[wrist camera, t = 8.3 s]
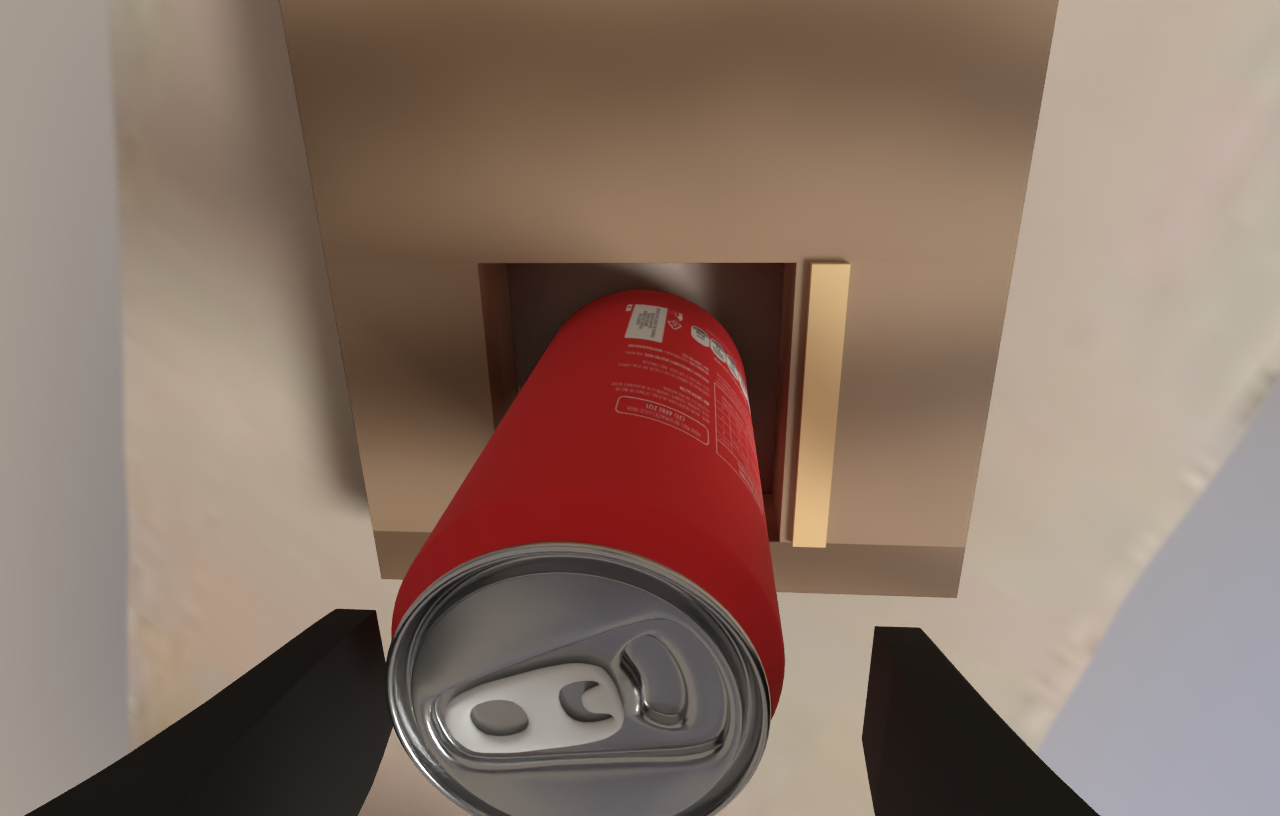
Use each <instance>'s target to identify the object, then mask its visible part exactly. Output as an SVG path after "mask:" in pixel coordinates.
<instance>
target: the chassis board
mask: <svg viewBox="0 0 1280 816" xmlns="http://www.w3.org/2000/svg"><path fill="white" fill-rule="evenodd" d="M279 2H280V7H281V13H282V19H283V24H284V30H285V36H286V41H287V47H288V53H289V58H290V64H291V69H292V75H293V81H294V86H295V92H296V98H297V103H298V109H299V115H300V120H301V126H302V132H303V137H304V143H305V149H306V154H307V160H308V166H309V171H310V177H311V182H312V188H313V194H314V199H315V205H316V211H317V216H318V222H319V228H320V233H321V239H322V245H323V250H324V256H325V262H326V267H327V273H328V279H329V284H330V290H331V295H332V301H333V307H334V312H335V318H336V324H337V329H338V335H339V341H340V346H341V352H342V358H343V363H344V369H345V375H346V380H347V386H348V392H349V397H350V403H351V409H352V414H353V420H354V425H355V431H356V437H357V442H358V448H359V454H360V459H361V465H362V471H363V476H364V482H365V488H366V493H367V499H368V505H369V510H370V516H371V522H372V527H373V533H374V538H375V544H376V550H377V555H378V561H379V567H380V572H381V578H382V579H401V580H403V579H404V577H405V575H406V574H407V572H408V570H409V568H410V566H411V564H412V563H413V561H414V559H415V558H416V556H417V555H418V553H419V551H420V550H421V548H422V547H423V545H424V543H425V542H426V540H427V539H428V537H429V535H430V534H431V532H432V531H433V529H434V528H435V526H436V524H437V523H438V521H439V520H440V518H441V516H442V515H443V513H444V512H445V510H446V508H447V507H448V505H449V504H450V502H451V500H452V499H453V497H454V496H455V494H456V492H457V491H458V489H459V488H460V486H461V485H462V483H463V481H464V480H465V478H466V477H467V475H468V473H469V472H470V470H471V469H472V467H473V465H474V464H475V462H476V461H477V459H478V457H479V456H480V454H481V453H482V451H483V449H484V448H485V446H486V445H487V443H488V441H489V440H490V438H491V437H492V435H493V434H494V432H495V430H496V429H497V427H498V426H499V424H500V422H501V421H502V419H503V418H504V416H505V414H506V413H507V411H508V410H509V408H510V406H511V405H512V403H513V402H514V400H515V398H516V397H517V395H518V389H517V377H516V365H515V354H514V342H513V330H512V319H511V307H510V295H509V284H508V272H507V263H784V276H783V295H782V313H781V331H780V350H779V368H778V386H777V405H776V423H775V441H774V459H773V478H772V494H771V493H762V496H763V503H764V510H765V517H766V524H767V531H768V538H769V545H770V552H771V559H772V566H773V573H774V580H775V587H776V592H794V593H824V594H854V595H884V596H914V597H944V598H957V593H958V587H959V582H960V576H961V570H962V564H963V558H964V552H965V546H966V541H967V535H968V529H969V523H970V517H971V511H972V505H973V500H974V494H975V488H976V482H977V476H978V470H979V464H980V459H981V453H982V447H983V441H984V435H985V429H986V423H987V418H988V412H989V406H990V400H991V394H992V388H993V382H994V377H995V371H996V365H997V359H998V353H999V347H1000V341H1001V336H1002V330H1003V324H1004V318H1005V312H1006V306H1007V300H1008V295H1009V289H1010V283H1011V277H1012V271H1013V265H1014V259H1015V254H1016V248H1017V242H1018V236H1019V230H1020V224H1021V218H1022V212H1023V207H1024V201H1025V195H1026V189H1027V183H1028V177H1029V171H1030V166H1031V160H1032V154H1033V148H1034V142H1035V136H1036V130H1037V125H1038V119H1039V113H1040V107H1041V101H1042V95H1043V89H1044V84H1045V78H1046V72H1047V66H1048V60H1049V54H1050V48H1051V43H1052V37H1053V31H1054V25H1055V19H1056V13H1057V7H1058V2H1059V0H279Z"/></svg>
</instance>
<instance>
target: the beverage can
mask: <svg viewBox="0 0 1280 816" xmlns="http://www.w3.org/2000/svg"><path fill="white" fill-rule="evenodd" d="M784 668H785V655H784V643H783V636H782V629H781V622H780V615H779V608H778V601H777V594H776V587H775V580H774V573H773V566H772V559H771V552H770V545H769V538H768V531H767V524H766V517H765V510H764V503H763V496H762V489H761V482H760V475H759V468H758V461H757V454H756V447H755V440H754V433H753V426H752V419H751V412H750V405H749V398H748V391H747V384H746V378H745V371H744V367H743V363H742V360H741V357H740V354H739V352H738V350H737V347H736V346H735V344H734V342H733V340H732V339H731V337H730V335H729V334H728V333H727V331H726V330H725V329H724V328H723V326H722V325H721V324H720V323H719V322H718V321H717V320H716V319H715V318H714V317H713V316H712V315H710V314H709V313H708V312H707V311H705V310H704V309H702V308H701V307H699V306H698V305H696V304H694V303H693V302H691V301H689V300H686V299H684V298H682V297H679V296H677V295H673V294H670V293H666V292H661V291H655V290H627V291H621V292H616V293H612V294H609V295H606V296H603V297H601V298H598V299H596V300H594V301H592V302H590V303H588V304H587V305H585V306H584V307H582V308H581V309H579V310H578V311H577V312H575V313H574V314H573V315H572V316H571V317H570V318H569V319H568V320H567V321H566V322H565V323H564V324H563V325H562V327H561V328H560V329H559V330H558V332H557V333H556V335H555V336H554V338H553V340H552V341H551V343H550V344H549V346H548V347H547V349H546V351H545V352H544V354H543V355H542V357H541V359H540V360H539V362H538V363H537V365H536V367H535V368H534V370H533V371H532V373H531V375H530V376H529V378H528V379H527V381H526V383H525V384H524V386H523V387H522V389H521V391H520V392H519V394H518V395H517V397H516V398H515V400H514V402H513V403H512V405H511V406H510V408H509V410H508V411H507V413H506V414H505V416H504V418H503V419H502V421H501V422H500V424H499V426H498V427H497V429H496V430H495V432H494V434H493V435H492V437H491V438H490V440H489V441H488V443H487V445H486V446H485V448H484V449H483V451H482V453H481V454H480V456H479V457H478V459H477V461H476V462H475V464H474V465H473V467H472V469H471V470H470V472H469V473H468V475H467V477H466V478H465V480H464V481H463V483H462V485H461V486H460V488H459V489H458V491H457V492H456V494H455V496H454V497H453V499H452V500H451V502H450V504H449V505H448V507H447V508H446V510H445V512H444V513H443V515H442V516H441V518H440V520H439V521H438V523H437V524H436V526H435V528H434V529H433V531H432V532H431V534H430V535H429V537H428V539H427V540H426V542H425V543H424V545H423V547H422V548H421V550H420V551H419V553H418V555H417V556H416V558H415V559H414V561H413V563H412V564H411V566H410V568H409V570H408V572H407V574H406V575H405V577H404V579H403V582H402V584H401V587H400V589H399V592H398V595H397V599H396V602H395V607H394V612H393V618H392V641H391V645H390V648H389V651H388V656H387V661H386V669H385V693H386V702H387V706H388V711H389V715H390V718H391V721H392V724H393V727H394V729H395V732H396V734H397V736H398V738H399V740H400V742H401V744H402V746H403V748H404V749H405V751H406V753H407V754H408V756H409V757H410V759H411V760H412V762H413V763H414V764H415V766H416V767H417V768H418V769H419V771H420V772H421V773H422V774H423V775H424V776H425V777H426V779H427V780H428V781H429V782H430V783H431V784H432V785H433V786H434V787H435V788H437V789H438V790H439V791H440V792H441V793H442V794H443V795H445V796H446V797H447V798H448V799H450V800H451V801H452V802H453V803H455V804H456V805H458V806H459V807H460V808H462V809H463V810H465V811H466V812H468V813H470V814H471V815H473V816H714V815H716V814H717V813H718V812H720V811H721V810H722V809H724V808H725V807H726V806H727V805H728V804H729V803H730V802H731V801H732V800H734V799H735V798H736V796H737V795H738V794H739V793H740V792H741V791H742V790H743V788H744V787H745V786H746V784H747V783H748V782H749V781H750V779H751V777H752V776H753V774H754V772H755V771H756V769H757V767H758V765H759V763H760V761H761V758H762V756H763V753H764V750H765V748H766V744H767V740H768V736H769V730H770V722H771V719H772V717H773V715H774V713H775V710H776V708H777V705H778V702H779V699H780V695H781V691H782V686H783V680H784Z"/></svg>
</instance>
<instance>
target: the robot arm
mask: <svg viewBox="0 0 1280 816" xmlns="http://www.w3.org/2000/svg"><path fill="white" fill-rule="evenodd" d="M385 669H386V662H385V657H384V652H383V646H382V641H381V636H380V630H379V625H378V620H377V614H376V610H356V609H335V610H334V611H332V612H331V613H329V614H328V615H326V616H324V617H323V618H322V619H320V620H319V621H317V622H316V623H314V624H313V625H311V626H310V627H309V628H307V629H306V630H304V631H303V632H302V633H300V634H299V635H298V636H296V637H295V638H293V639H292V640H291V641H289V642H288V643H287V644H285V645H284V646H283V647H281V648H280V649H278V650H277V651H276V652H274V653H273V654H272V655H270V656H269V657H268V658H266V659H265V660H263V661H262V662H261V663H259V664H258V665H257V666H255V667H254V668H252V669H251V670H250V671H248V672H247V673H245V674H244V675H243V676H241V677H240V678H239V679H237V680H236V681H234V682H233V683H232V684H230V685H229V686H227V687H226V688H225V689H223V690H222V691H221V692H219V693H218V694H216V695H215V696H214V697H212V698H211V699H209V700H208V701H207V702H205V703H204V704H202V705H201V706H199V707H198V708H196V709H195V710H193V711H192V712H190V713H189V714H187V715H186V716H184V717H183V718H181V719H180V720H178V721H177V722H175V723H174V724H172V725H171V726H169V727H168V728H166V729H165V730H163V731H162V732H160V733H159V734H157V735H156V736H155V737H153V738H152V739H150V740H149V741H147V742H146V743H144V744H143V745H141V746H140V747H138V748H137V749H135V750H134V751H132V752H131V753H129V754H128V755H126V756H124V757H123V758H121V759H120V760H118V761H116V762H115V763H113V764H112V765H110V766H108V767H107V768H105V769H104V770H102V771H100V772H99V773H97V774H96V775H94V776H92V777H91V778H89V779H87V780H85V781H84V782H82V783H80V784H79V785H77V786H76V787H74V788H72V789H70V790H68V791H67V792H65V793H63V794H61V795H60V796H58V797H56V798H54V799H53V800H51V801H49V802H48V803H46V804H44V805H43V806H41V807H39V808H37V809H35V810H34V811H32V812H30V813H28V814H26V815H25V816H358V814H359V812H360V810H361V808H362V806H363V804H364V801H365V799H366V797H367V795H368V793H369V791H370V789H371V787H372V784H373V782H374V779H375V776H376V773H377V771H378V768H379V765H380V763H381V760H382V757H383V755H384V752H385V749H386V746H387V743H388V740H389V737H390V734H391V731H392V728H393V724H392V721H391V718H390V715H389V711H388V706H387V702H386V693H385ZM862 742H863V748H864V754H865V761H866V767H867V773H868V779H869V785H870V790H871V796H872V801H873V807H874V812H875V816H1100V815H1099V814H1098V813H1096V812H1095V811H1094V810H1093V809H1092V808H1091V807H1090V806H1089V805H1088V804H1087V803H1086V802H1085V801H1083V799H1081V798H1080V797H1079V796H1078V795H1077V794H1076V793H1075V792H1074V791H1073V790H1072V789H1071V788H1070V787H1069V786H1068V785H1067V784H1066V783H1065V782H1063V781H1062V780H1061V779H1060V778H1059V777H1058V776H1057V775H1056V774H1055V773H1054V772H1053V771H1052V770H1051V769H1050V768H1049V767H1048V766H1047V765H1046V764H1045V763H1044V762H1043V761H1042V760H1041V759H1040V758H1039V757H1038V756H1037V755H1036V754H1035V753H1034V752H1033V751H1032V750H1031V749H1030V748H1029V747H1028V746H1027V744H1026V743H1025V742H1024V741H1023V740H1022V739H1021V738H1020V737H1019V736H1018V735H1017V734H1016V733H1015V732H1014V731H1013V730H1012V729H1011V728H1010V727H1009V726H1008V725H1007V724H1006V723H1005V722H1004V721H1003V719H1002V718H1001V717H1000V716H999V715H998V714H997V713H996V712H995V711H994V710H993V709H992V708H991V707H990V705H989V704H988V703H987V702H986V701H985V700H984V699H983V698H982V697H981V696H980V695H979V693H978V692H977V691H976V690H975V689H974V688H973V687H972V686H971V684H970V683H969V682H968V681H967V680H966V679H965V678H964V677H963V676H962V674H961V673H960V672H959V671H958V670H957V669H956V668H955V666H954V665H953V664H952V663H951V662H950V661H949V660H948V659H947V657H946V656H945V655H944V654H943V653H942V652H941V651H940V649H939V648H938V647H937V646H936V645H935V644H934V643H933V641H932V640H931V639H930V638H929V637H928V636H927V635H926V634H925V633H924V632H923V631H922V630H921V628H911V627H880V626H875V630H874V639H873V647H872V656H871V664H870V673H869V682H868V690H867V699H866V708H865V716H864V725H863V734H862Z"/></svg>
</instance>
